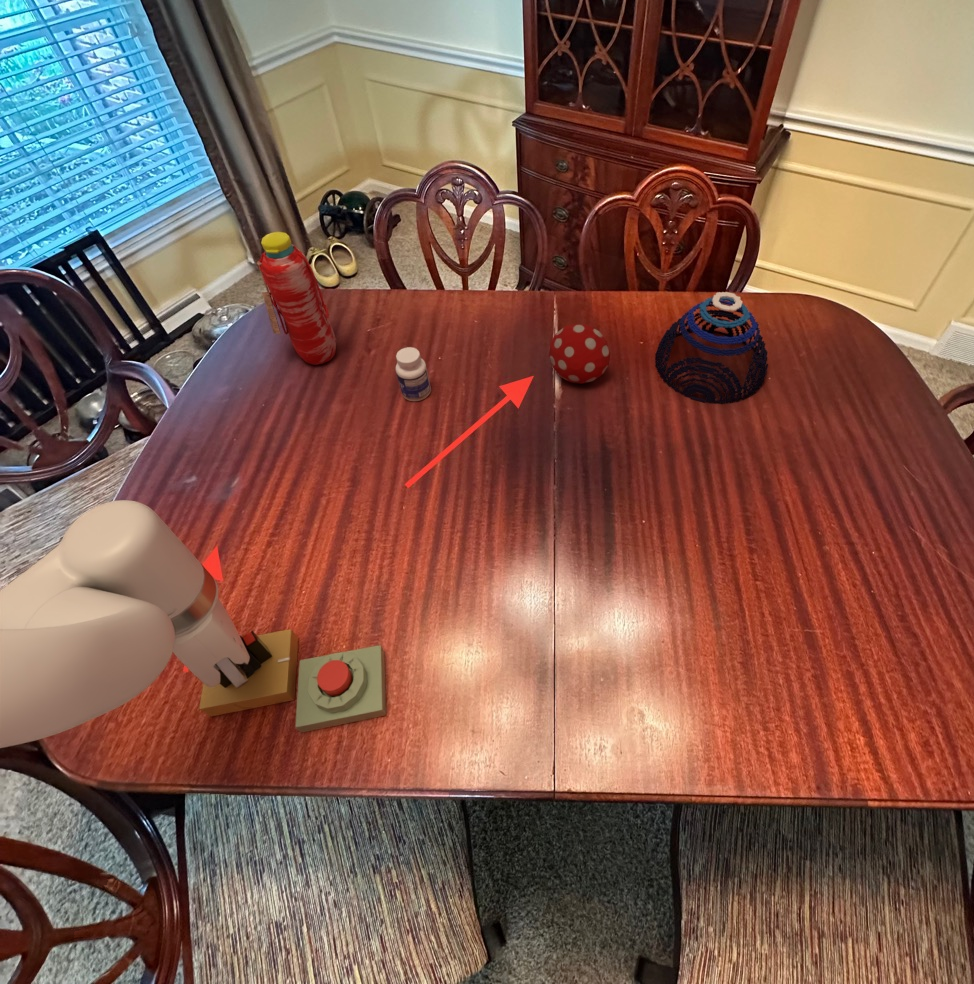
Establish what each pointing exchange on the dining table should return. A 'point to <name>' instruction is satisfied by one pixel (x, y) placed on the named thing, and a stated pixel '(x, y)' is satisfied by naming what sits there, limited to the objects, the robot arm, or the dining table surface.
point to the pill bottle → (412, 374)
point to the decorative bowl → (714, 350)
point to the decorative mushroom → (579, 353)
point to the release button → (334, 677)
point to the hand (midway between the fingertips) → (244, 665)
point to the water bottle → (296, 299)
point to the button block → (351, 705)
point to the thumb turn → (254, 647)
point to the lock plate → (259, 680)
